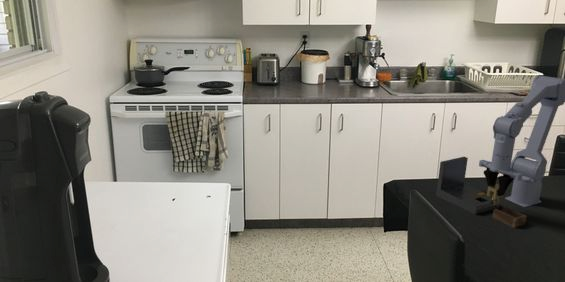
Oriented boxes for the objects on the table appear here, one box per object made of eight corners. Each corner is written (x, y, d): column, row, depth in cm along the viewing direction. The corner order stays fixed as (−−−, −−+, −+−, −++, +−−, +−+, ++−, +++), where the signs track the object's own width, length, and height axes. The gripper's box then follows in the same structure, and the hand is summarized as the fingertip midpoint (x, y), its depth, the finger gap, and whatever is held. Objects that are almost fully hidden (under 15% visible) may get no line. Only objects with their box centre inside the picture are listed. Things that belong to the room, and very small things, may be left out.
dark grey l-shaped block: (459, 189, 179) (464, 156, 175) (499, 207, 165) (505, 172, 161) (436, 195, 173) (440, 161, 169) (475, 215, 159) (480, 178, 155)
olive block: (494, 200, 162) (497, 183, 160) (502, 204, 159) (505, 187, 157) (485, 203, 160) (488, 186, 158) (493, 206, 157) (496, 189, 155)
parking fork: (503, 214, 160) (504, 206, 159) (525, 224, 154) (526, 216, 153) (492, 217, 158) (493, 209, 157) (514, 228, 151) (515, 219, 150)
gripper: (475, 149, 158) (469, 187, 162) (514, 163, 146) (507, 204, 150) (489, 146, 162) (483, 183, 166) (529, 159, 150) (521, 199, 154)
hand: (495, 193), depth 158 cm, fingers closed on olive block, 3 cm apart
